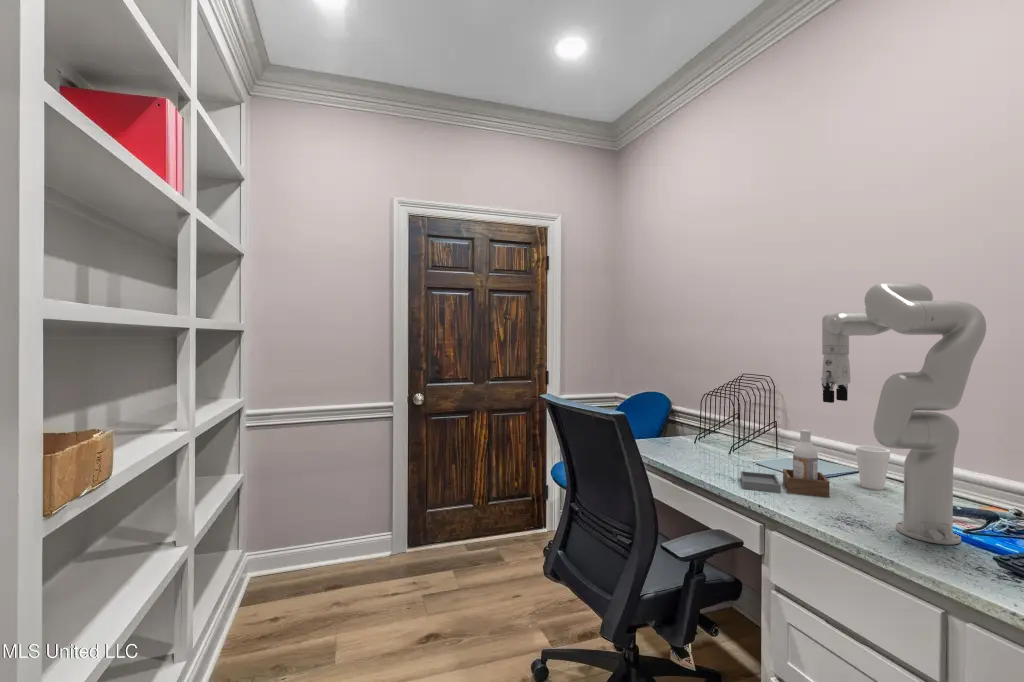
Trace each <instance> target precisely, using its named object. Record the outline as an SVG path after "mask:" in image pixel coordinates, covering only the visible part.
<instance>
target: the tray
mask: <svg viewBox="0 0 1024 682" xmlns="http://www.w3.org/2000/svg"><path fill="white" fill-rule="evenodd" d="M740 482H741V485H742V490H750V491H758V492H759V491H760V492H766V493H767V492H768V493H778V494H780V493H781V491H782V489H781V488H782V485H781V483H780V481H779V479H778V477H777V475H776V474H772V473H764V472H752V471H744V470H743V471H740ZM781 494H782V493H781Z"/></svg>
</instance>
